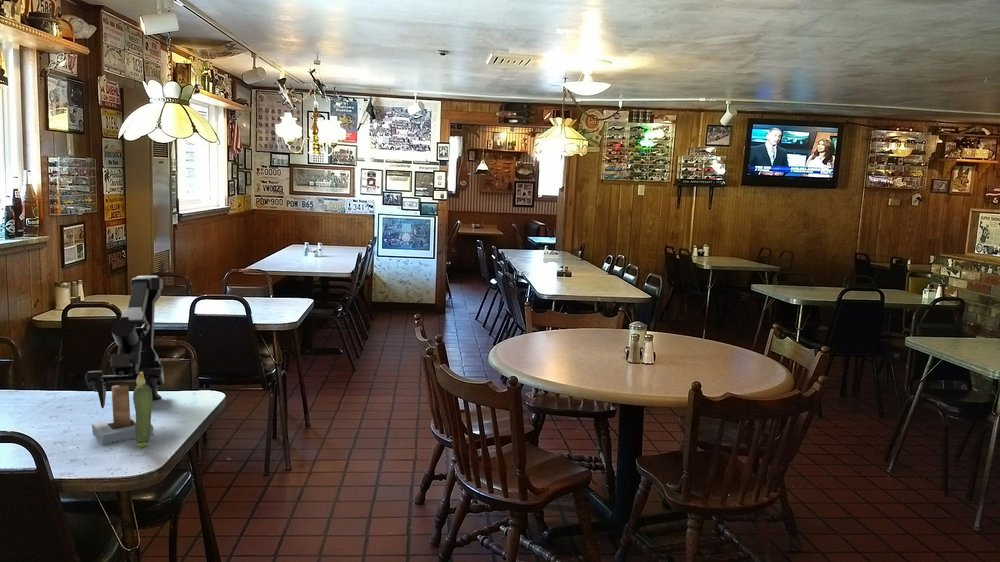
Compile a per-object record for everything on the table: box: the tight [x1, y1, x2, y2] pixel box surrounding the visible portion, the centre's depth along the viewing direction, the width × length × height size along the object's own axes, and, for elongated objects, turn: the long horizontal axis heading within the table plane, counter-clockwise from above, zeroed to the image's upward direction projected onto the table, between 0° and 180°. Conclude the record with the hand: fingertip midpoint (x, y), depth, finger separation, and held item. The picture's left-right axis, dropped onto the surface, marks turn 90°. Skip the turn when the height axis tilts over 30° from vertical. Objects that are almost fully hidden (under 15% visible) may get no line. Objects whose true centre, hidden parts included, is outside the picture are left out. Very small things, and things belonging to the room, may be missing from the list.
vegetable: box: [132, 371, 153, 449], centre depth 180 cm, size 4×4×20 cm
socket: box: [91, 414, 154, 445], centre depth 190 cm, size 12×12×2 cm
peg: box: [111, 383, 131, 429], centre depth 189 cm, size 4×4×13 cm
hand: (121, 406), depth 190 cm, fingers open, 9 cm apart
